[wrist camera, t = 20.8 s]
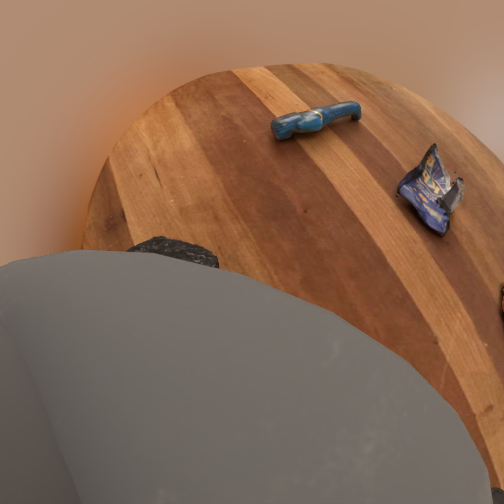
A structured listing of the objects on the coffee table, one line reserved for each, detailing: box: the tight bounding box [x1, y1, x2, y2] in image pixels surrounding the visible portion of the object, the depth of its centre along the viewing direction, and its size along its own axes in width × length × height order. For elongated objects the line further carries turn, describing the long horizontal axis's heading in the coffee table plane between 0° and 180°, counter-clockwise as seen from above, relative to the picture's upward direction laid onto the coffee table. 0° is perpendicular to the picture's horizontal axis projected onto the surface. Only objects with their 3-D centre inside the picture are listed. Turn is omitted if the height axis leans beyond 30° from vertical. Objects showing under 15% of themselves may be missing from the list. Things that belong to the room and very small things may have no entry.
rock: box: [126, 236, 219, 269], centre depth 26 cm, size 7×10×6 cm
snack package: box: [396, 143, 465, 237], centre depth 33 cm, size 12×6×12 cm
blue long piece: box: [271, 101, 361, 140], centre depth 38 cm, size 5×4×15 cm
